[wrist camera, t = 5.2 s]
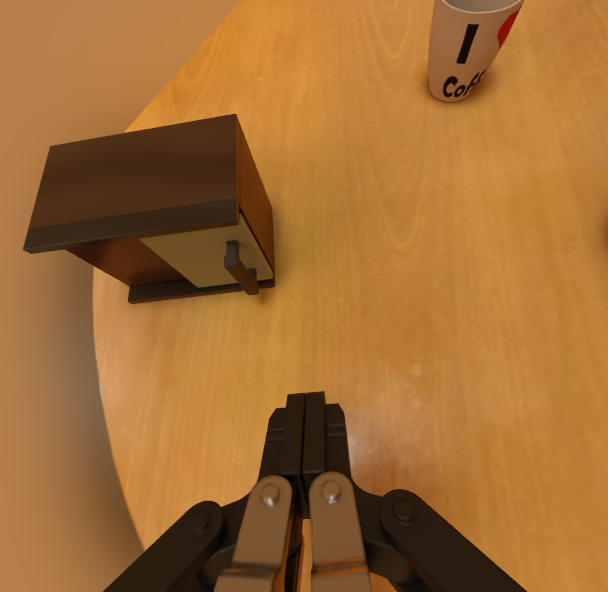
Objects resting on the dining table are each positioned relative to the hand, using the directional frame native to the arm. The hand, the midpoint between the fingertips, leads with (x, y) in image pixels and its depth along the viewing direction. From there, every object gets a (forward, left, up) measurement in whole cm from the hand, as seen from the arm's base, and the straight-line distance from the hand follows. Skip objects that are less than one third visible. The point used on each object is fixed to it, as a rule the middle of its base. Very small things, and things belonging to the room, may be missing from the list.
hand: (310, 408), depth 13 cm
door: (-8, +12, -15) cm, 21 cm away
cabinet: (-12, +18, -16) cm, 27 cm away
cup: (+19, +36, -17) cm, 44 cm away
